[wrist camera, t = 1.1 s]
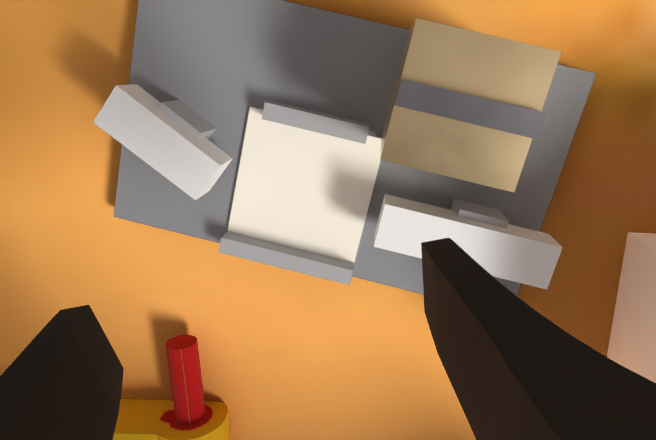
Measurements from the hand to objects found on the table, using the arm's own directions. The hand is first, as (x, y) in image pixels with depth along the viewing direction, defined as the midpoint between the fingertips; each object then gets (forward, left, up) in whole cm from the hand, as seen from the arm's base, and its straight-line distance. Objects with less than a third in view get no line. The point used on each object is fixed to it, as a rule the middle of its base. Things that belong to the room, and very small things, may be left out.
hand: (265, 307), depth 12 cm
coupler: (-4, -5, -13) cm, 14 cm away
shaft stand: (0, -2, -14) cm, 14 cm away
